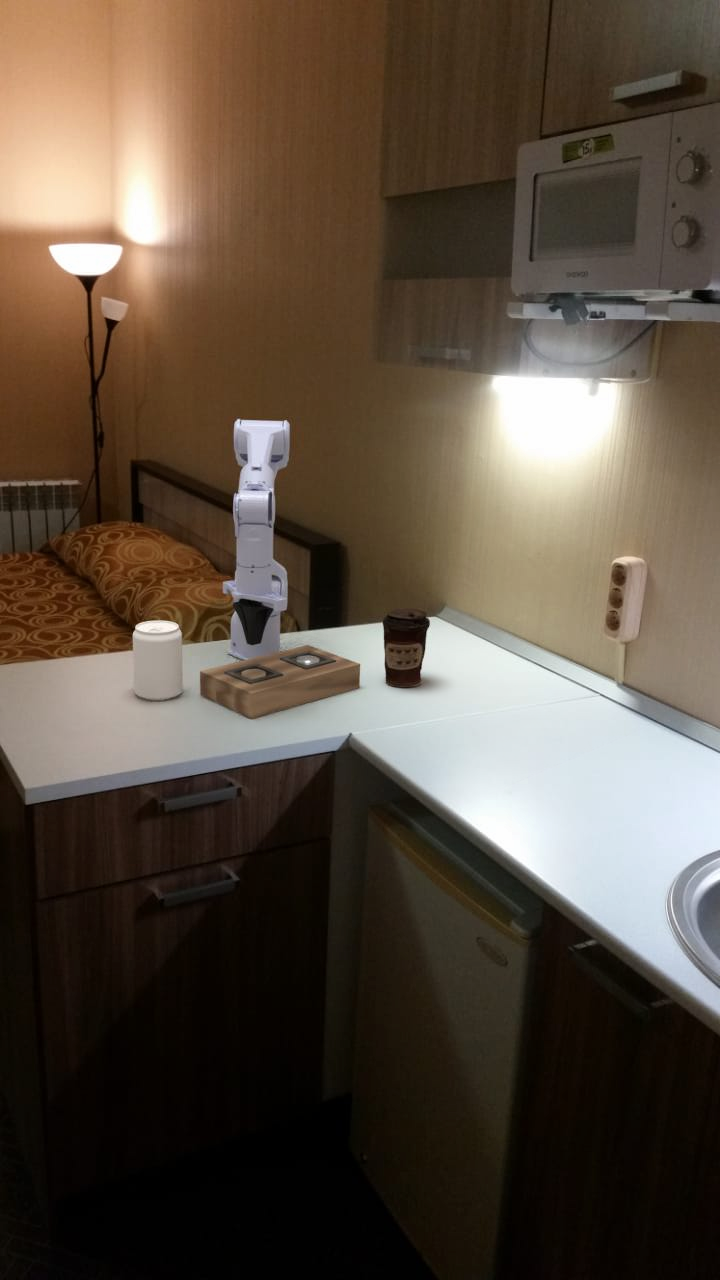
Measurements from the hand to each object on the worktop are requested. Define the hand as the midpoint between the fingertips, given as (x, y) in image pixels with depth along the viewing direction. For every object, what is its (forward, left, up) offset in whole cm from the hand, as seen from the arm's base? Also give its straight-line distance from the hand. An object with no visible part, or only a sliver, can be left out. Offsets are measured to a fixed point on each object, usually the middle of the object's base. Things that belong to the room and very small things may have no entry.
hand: (253, 643), depth 181 cm
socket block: (0, +6, -10) cm, 12 cm away
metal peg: (0, +12, -10) cm, 15 cm away
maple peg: (0, 0, -10) cm, 10 cm away
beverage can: (-12, -11, -10) cm, 19 cm away
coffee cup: (+10, +26, -10) cm, 30 cm away
